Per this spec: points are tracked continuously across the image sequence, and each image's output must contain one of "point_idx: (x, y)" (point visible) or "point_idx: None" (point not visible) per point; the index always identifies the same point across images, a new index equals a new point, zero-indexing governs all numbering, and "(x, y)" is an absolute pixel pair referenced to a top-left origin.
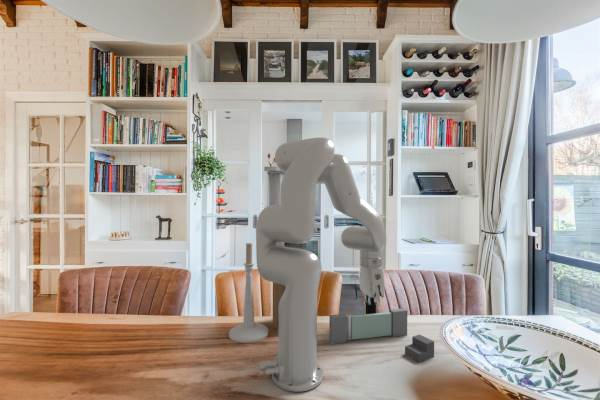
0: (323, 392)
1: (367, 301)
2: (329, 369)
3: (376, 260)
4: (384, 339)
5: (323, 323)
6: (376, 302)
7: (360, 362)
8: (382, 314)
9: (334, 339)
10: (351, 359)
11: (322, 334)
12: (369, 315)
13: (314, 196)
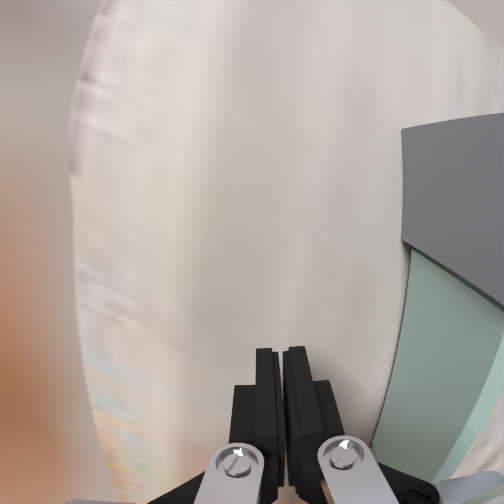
0: (500, 467)
1: (267, 500)
2: (466, 471)
3: None
4: None
5: (188, 478)
6: (372, 459)
7: (493, 419)
8: (500, 390)
9: None
10: None
11: (291, 495)
12: (457, 465)
13: None
